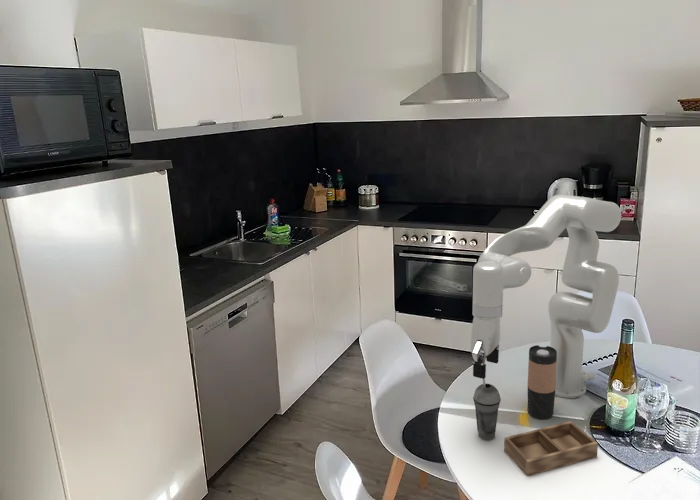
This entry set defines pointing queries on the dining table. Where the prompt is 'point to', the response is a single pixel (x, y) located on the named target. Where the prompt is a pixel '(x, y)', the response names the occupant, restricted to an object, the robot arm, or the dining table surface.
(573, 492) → the dining table surface
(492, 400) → the beverage cup
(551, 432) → the tray
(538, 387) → the travel mug
